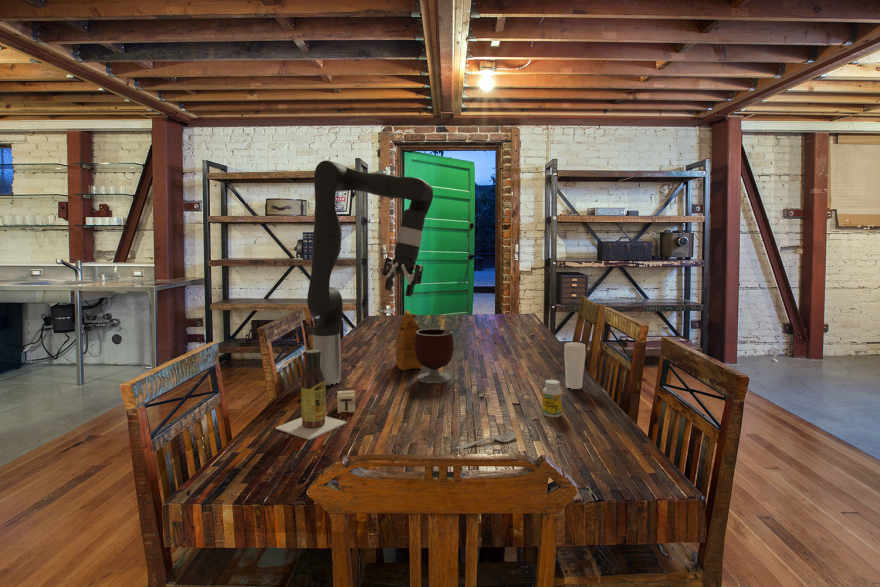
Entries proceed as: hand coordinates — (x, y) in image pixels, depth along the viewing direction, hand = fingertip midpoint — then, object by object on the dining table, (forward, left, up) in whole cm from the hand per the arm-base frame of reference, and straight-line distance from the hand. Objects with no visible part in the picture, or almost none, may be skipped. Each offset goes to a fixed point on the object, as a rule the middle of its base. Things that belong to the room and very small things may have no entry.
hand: (397, 293), depth 149 cm
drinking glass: (+46, +37, -33) cm, 67 cm away
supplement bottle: (+48, +9, -33) cm, 59 cm away
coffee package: (-17, +29, -33) cm, 47 cm away
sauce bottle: (-2, -34, -33) cm, 47 cm away
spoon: (+40, -20, -33) cm, 56 cm away
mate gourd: (+1, +21, -33) cm, 39 cm away
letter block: (-4, -20, -33) cm, 39 cm away
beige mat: (-3, -34, -33) cm, 48 cm away
